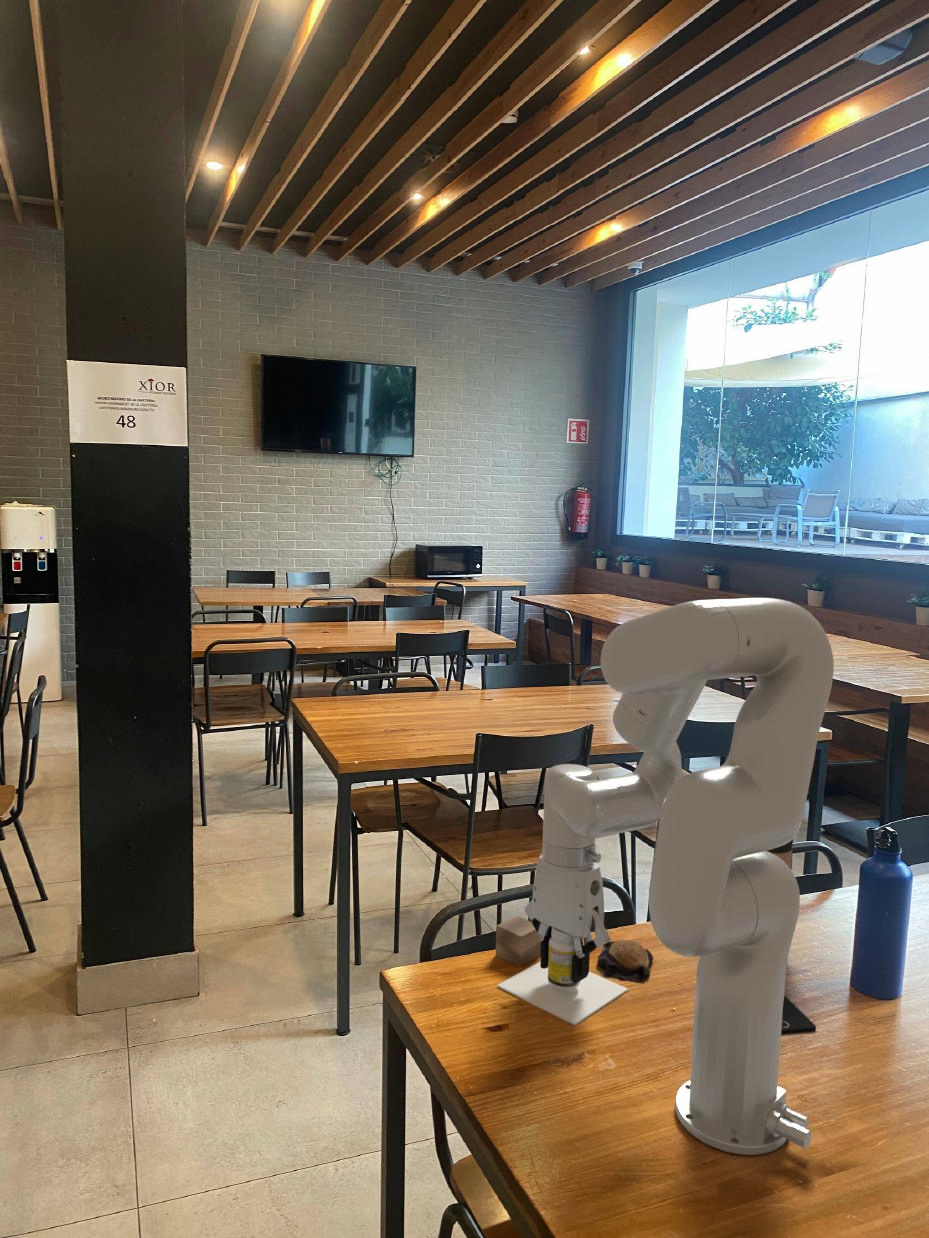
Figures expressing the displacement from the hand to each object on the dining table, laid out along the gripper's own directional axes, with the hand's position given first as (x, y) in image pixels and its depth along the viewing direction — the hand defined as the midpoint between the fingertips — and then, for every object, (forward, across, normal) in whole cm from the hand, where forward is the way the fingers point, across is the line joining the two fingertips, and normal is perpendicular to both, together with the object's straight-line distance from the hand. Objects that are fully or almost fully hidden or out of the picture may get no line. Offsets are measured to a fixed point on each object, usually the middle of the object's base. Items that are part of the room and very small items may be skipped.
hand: (564, 970), depth 130 cm
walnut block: (+3, +11, -3) cm, 12 cm away
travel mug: (+3, -15, -33) cm, 36 cm away
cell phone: (+4, -21, -18) cm, 28 cm away
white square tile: (+3, 0, 0) cm, 3 cm away
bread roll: (+4, -2, -13) cm, 14 cm away
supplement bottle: (+2, 0, 0) cm, 2 cm away
